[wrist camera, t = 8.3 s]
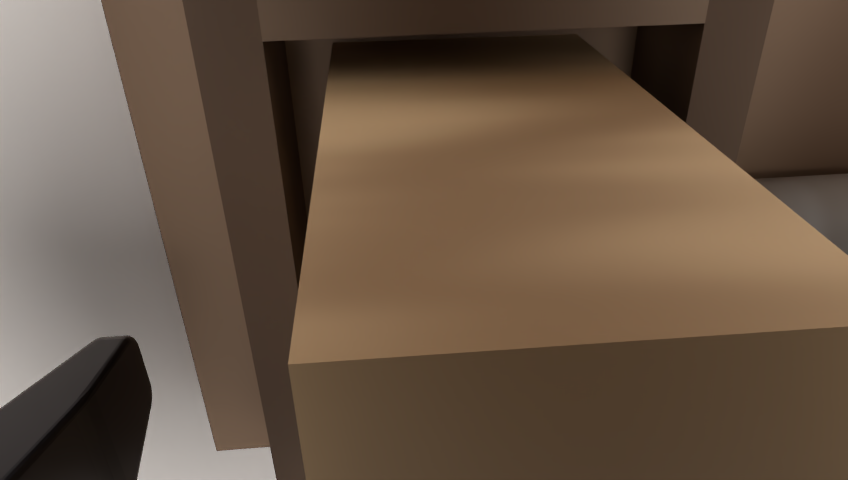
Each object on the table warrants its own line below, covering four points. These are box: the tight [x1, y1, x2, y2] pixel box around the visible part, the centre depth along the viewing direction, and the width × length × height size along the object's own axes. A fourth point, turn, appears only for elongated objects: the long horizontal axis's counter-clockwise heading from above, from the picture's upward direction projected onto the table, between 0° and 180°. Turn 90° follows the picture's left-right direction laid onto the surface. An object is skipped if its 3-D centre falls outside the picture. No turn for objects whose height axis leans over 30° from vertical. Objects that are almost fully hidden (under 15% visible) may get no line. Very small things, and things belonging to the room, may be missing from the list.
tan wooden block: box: [288, 34, 848, 480], centre depth 8 cm, size 4×6×7 cm, turn 1°
